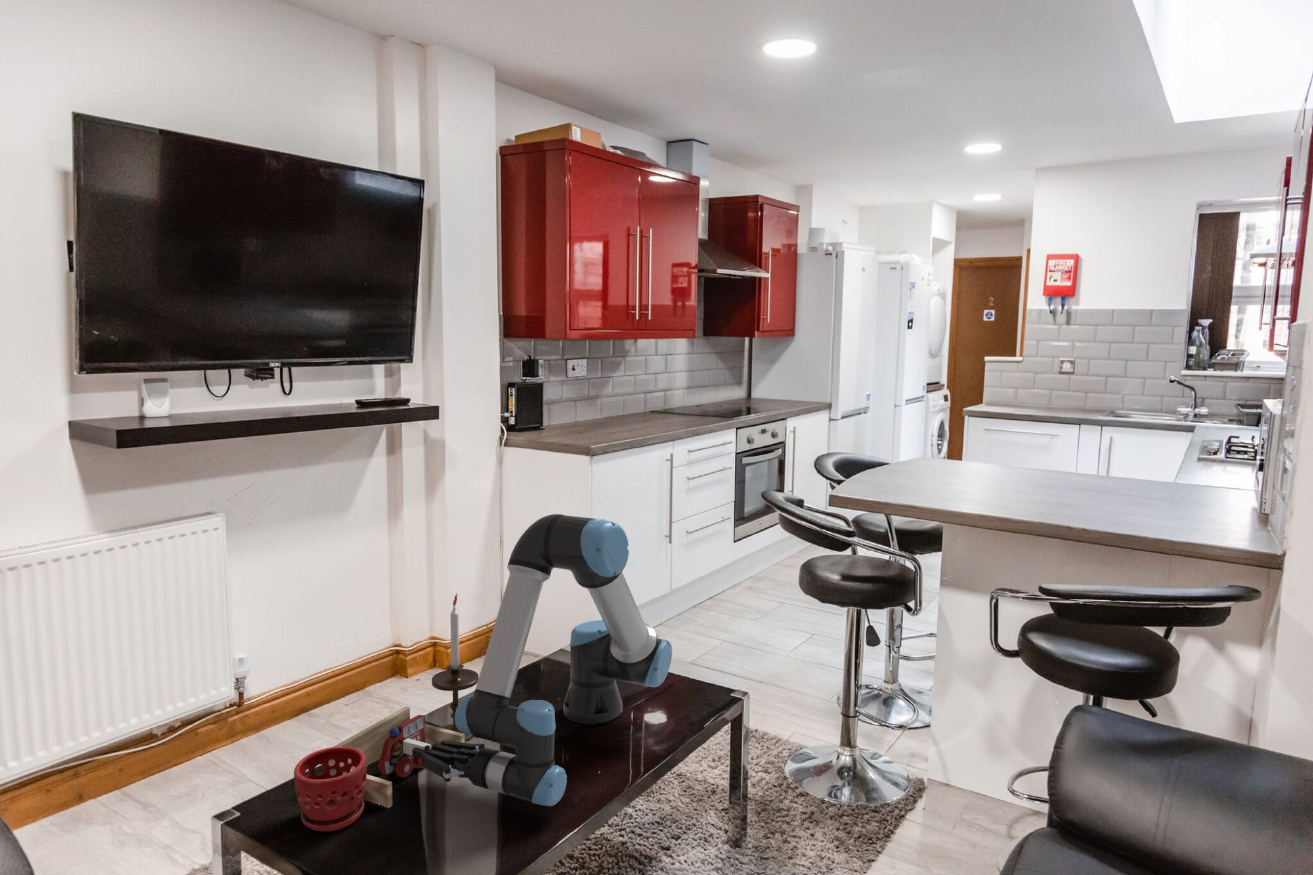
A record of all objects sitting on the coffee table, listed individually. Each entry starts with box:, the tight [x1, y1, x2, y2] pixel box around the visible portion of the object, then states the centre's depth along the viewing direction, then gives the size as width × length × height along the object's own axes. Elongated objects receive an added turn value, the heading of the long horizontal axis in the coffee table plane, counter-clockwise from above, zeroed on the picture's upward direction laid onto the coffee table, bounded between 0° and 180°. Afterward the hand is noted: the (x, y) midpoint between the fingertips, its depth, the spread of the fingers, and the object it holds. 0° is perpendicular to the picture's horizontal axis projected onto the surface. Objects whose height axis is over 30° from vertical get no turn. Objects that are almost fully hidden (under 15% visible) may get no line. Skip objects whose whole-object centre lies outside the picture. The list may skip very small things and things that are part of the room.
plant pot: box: [293, 746, 368, 832], centre depth 161 cm, size 13×13×12 cm
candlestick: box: [431, 593, 480, 743], centre depth 195 cm, size 11×11×35 cm
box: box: [328, 706, 466, 809], centre depth 180 cm, size 17×24×8 cm
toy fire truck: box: [377, 714, 427, 778], centre depth 180 cm, size 7×12×10 cm, turn 149°
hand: (405, 745), depth 178 cm, fingers closed
